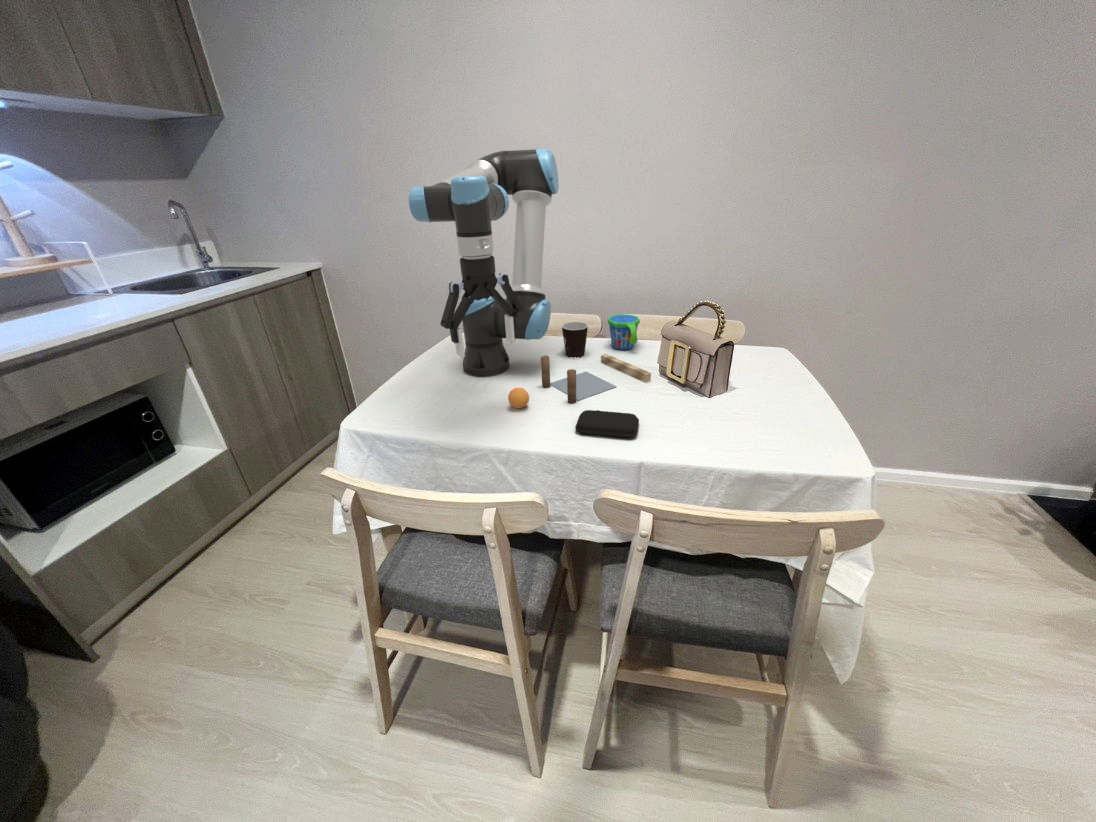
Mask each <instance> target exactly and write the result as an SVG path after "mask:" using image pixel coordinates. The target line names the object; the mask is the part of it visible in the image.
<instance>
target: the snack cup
mask: <svg viewBox="0 0 1096 822" xmlns="http://www.w3.org/2000/svg"><path fill="white" fill-rule="evenodd" d="M607 323H608V325H609V335H610V342H611V346H612V348H613V349H616V350H621V351H627V350H630V349H632V348H633V347H634V346H635V344H637V342H638V334H637V333H638V327H639V324H641V319H640V318H639V317H638V316H636V315H633V314H623V313H622V314H615V315H614V314H613V315H612V316H611V315H610V316H609V317H608V319H607Z"/></svg>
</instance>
